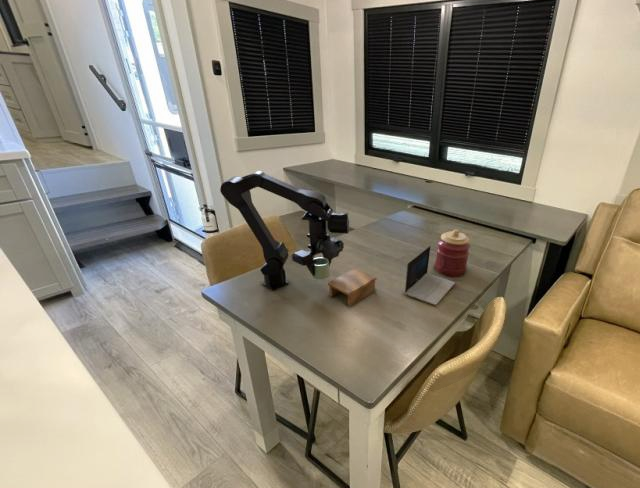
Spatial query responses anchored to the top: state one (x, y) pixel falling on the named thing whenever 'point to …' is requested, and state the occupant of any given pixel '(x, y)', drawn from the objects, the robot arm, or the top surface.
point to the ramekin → (321, 268)
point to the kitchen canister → (452, 253)
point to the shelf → (353, 285)
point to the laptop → (425, 280)
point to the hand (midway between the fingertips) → (320, 271)
